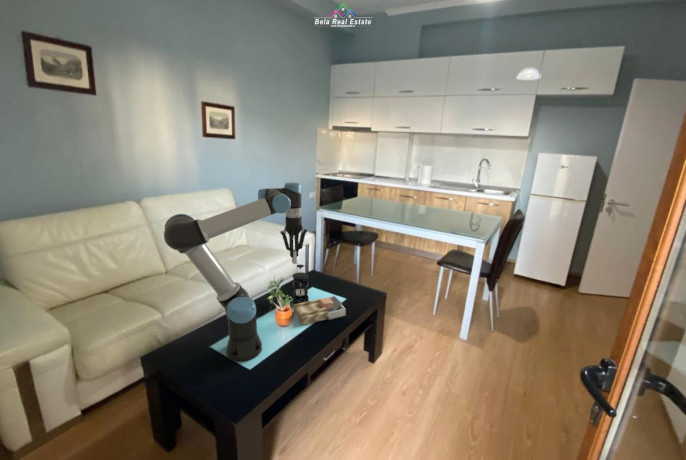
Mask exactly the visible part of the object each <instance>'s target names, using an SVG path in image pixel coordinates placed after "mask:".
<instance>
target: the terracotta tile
mask: <svg viewBox="0 0 686 460" xmlns="http://www.w3.org/2000/svg"><path fill="white" fill-rule="evenodd" d="M318 299H319V305H320V306H321V307H322V308H333V305H334V302H333V301H332V300H331V299H330V298H326V297H322V298H318Z"/></svg>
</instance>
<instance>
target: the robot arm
mask: <svg viewBox="0 0 686 460" xmlns="http://www.w3.org/2000/svg"><path fill="white" fill-rule="evenodd" d="M277 213H278V214H285V226H284V229H283V230H281V231H280V232H279V233H280V235H281V236H282V240H283V243H284V246H285V249H286V251H289V257H290V258H291V263H292V264H293V265H298V264H297V263H298V262H297V261H298V260H297V258H298V257H299V251H300V250H302V249H303V246H304V243H305V242H304V241H305V237H306V234H307V232H308V229H306V228H304V227H303V225H302V224H303V222H302V217H303V216H302V186H301V184H300V183H299V182H285V183H284V187H280V188H279V187H274V188H261V189H259V190H258V192H257V200H255V201H251V202H249V203H247V204H244V205H240V206H238V207H235V208H232V209H229V210H227V211H224V212H222V213H218V214H215V215H212V216H210V217H208V218H205V219H198V218H197V219H194V218H193V217H192V216H191V215H188V214H186V213H178V214H174V215H172V216H170V217H169V218H168V219H167V221H165V223H164V224H165V225H164V232H163V240H164V242H165V245H167V246H168V247H170V248H171V249H172V250H175V251H177V252H179V254H185V255H186V256H187V258H188V259H189V261H190V262H191V263H192V264H193V265H194V266H195V268H196V269H197V270H198V271H199V273H200V275H202V276H203V278H204V279H205V281H207V283H208V284H209V285H210V287H211V288H212V289H213V291H214V292H215V293H216V294H217V295H216V300H217V301H218V303H219V305H220V306H222V308H223V309H224V310H225V311H224V312H225V314H226V319H227V323H228V324H227V325H228V326H227V327H228V336H229V337H228V341H227V345H226V348H225V352H226V353H225V354H226V357H227V358H228V359H229V360H230V361H233V362H247V361H250V360H252V359H255V358H256V357H258V356H259V355H260V354H261V352H262V350H263V344H262V340H261V338H260V336H259V333H258V325H257V324H258V323H257V306H256V303H255V301H254V300H253V299H252V298H250V296H249V293H248V291H247V290H246V289H245V288H243V287H242V285H241V284H240V283H239V282H234V280H233V279H232V278H231V276H230V275H229V274H228V272H227V270H225V268H224V266H222V264H221V263H220V261H219V260H218V258H217V257H216V256H215V254H214V253H213V252H212V251H211V249H210V248H209V247H208V245H207V243H209V241H210V240H211V239H212V238H216V237H218V236H220V235H223V234H226V233H228V232H230V231H235V230H236V229H238V228H242V227H244V226H247V225H249V224H251V223H254V222H257V221H260V220H262V219H264V218H266V217H270V216H272V215H275V214H277ZM287 234H288V237H289V238H287ZM288 239H289V241H288Z"/></svg>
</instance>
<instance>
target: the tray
mask: <svg viewBox="0 0 686 460" xmlns="http://www.w3.org/2000/svg"><path fill="white" fill-rule="evenodd" d="M333 296H334V295H331V296H326V297H325V298H330V299H332V298H333ZM326 311H327V312H328V319H327V320H328V321H331V320H335V319H338V318H342V317H346V316H347V308H345V307H344V305H343V303H342V304H341V305H340V307H339V308H338V309H337V311H333V310H332V309H331V308H327V309H326Z"/></svg>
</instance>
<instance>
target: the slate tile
mask: <svg viewBox="0 0 686 460" xmlns="http://www.w3.org/2000/svg"><path fill="white" fill-rule="evenodd" d="M332 296H333V298H332V299H331V300H332V301H333V302H334V305H333V308H331V309H332V310H333V311H337V309H338V308H339V307H340V305H341V304H342V305H343V302H342V301H341V300H340V299H339V298H338V297H337V296H335V295H332Z"/></svg>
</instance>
